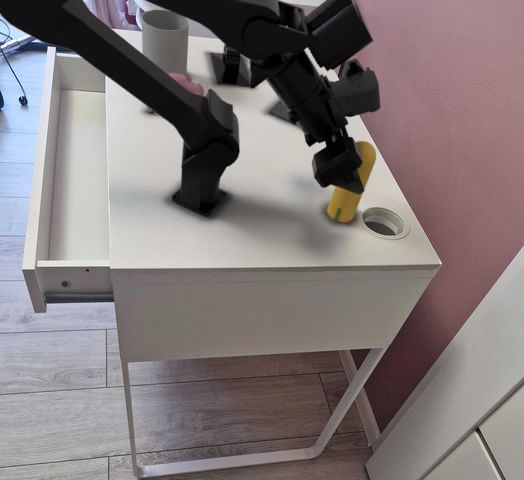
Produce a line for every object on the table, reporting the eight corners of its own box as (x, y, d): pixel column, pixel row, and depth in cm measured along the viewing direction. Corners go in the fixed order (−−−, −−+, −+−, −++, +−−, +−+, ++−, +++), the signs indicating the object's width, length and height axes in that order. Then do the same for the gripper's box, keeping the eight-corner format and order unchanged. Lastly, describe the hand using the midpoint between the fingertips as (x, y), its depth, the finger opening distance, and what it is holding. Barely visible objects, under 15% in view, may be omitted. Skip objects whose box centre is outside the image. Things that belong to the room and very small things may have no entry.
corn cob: (347, 226, 79) (375, 157, 69) (322, 215, 80) (346, 144, 70) (357, 211, 82) (384, 142, 72) (333, 200, 83) (357, 130, 73)
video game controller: (202, 122, 93) (207, 80, 90) (199, 123, 89) (205, 79, 85) (149, 110, 92) (153, 68, 89) (144, 111, 88) (147, 66, 85)
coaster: (310, 130, 94) (310, 128, 94) (268, 113, 96) (268, 111, 95) (327, 111, 100) (327, 109, 99) (286, 95, 101) (287, 93, 100)
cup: (194, 78, 99) (198, 22, 91) (169, 92, 94) (170, 35, 86) (160, 61, 100) (160, 5, 92) (133, 75, 95) (131, 17, 87)
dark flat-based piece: (209, 54, 106) (211, 30, 102) (243, 58, 107) (246, 34, 104) (216, 84, 99) (219, 59, 95) (252, 87, 100) (256, 63, 97)
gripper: (371, 88, 55) (422, 183, 66) (345, 17, 66) (393, 108, 77) (287, 144, 60) (347, 224, 71) (276, 70, 71) (330, 148, 82)
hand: (356, 173), depth 75 cm, fingers open, 9 cm apart
